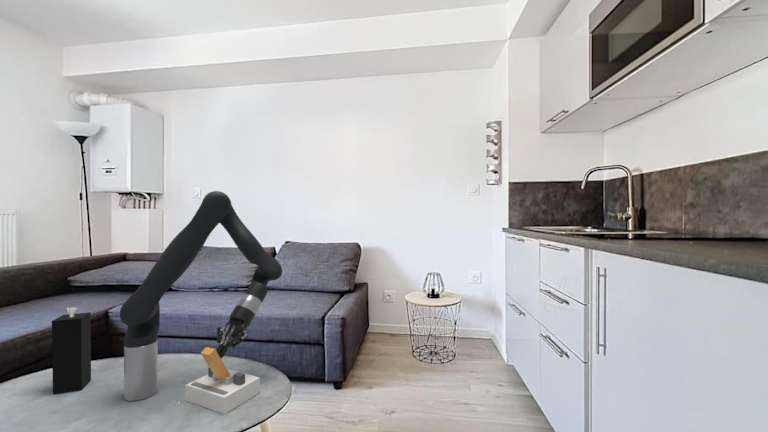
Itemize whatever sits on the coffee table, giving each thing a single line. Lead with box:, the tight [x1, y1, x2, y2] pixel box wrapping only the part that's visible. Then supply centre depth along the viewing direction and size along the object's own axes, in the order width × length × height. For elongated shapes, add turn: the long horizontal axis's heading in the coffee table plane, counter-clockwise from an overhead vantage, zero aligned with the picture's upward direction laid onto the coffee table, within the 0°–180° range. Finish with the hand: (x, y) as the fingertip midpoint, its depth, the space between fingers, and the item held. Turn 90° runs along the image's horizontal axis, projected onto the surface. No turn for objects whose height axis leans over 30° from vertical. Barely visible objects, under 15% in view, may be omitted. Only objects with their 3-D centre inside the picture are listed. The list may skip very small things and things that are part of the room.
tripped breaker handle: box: [200, 346, 230, 381], centre depth 111 cm, size 4×2×13 cm, turn 65°
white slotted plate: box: [184, 367, 261, 415], centre depth 114 cm, size 18×14×8 cm
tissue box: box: [51, 306, 92, 395], centre depth 120 cm, size 8×8×28 cm
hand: (217, 358), depth 112 cm, fingers closed
